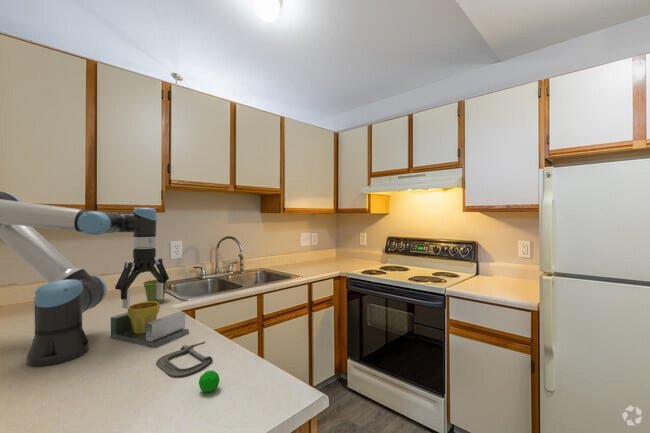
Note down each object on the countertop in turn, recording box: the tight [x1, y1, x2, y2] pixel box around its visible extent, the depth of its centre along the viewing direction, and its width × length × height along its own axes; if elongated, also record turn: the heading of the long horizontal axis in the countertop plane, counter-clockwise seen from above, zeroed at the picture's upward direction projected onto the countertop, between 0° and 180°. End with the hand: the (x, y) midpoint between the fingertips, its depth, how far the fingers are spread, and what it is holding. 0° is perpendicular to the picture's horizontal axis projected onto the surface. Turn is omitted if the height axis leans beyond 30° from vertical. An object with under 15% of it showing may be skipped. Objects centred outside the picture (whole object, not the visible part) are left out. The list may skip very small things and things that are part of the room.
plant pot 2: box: [127, 301, 161, 334], centre depth 115 cm, size 10×10×10 cm
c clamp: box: [155, 341, 213, 378], centre depth 95 cm, size 20×17×3 cm
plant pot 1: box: [142, 279, 169, 304], centre depth 159 cm, size 12×12×11 cm
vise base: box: [110, 311, 190, 349], centre depth 115 cm, size 14×24×8 cm, turn 67°
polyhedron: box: [198, 369, 221, 393], centre depth 78 cm, size 5×5×5 cm
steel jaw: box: [146, 311, 186, 341], centre depth 111 cm, size 14×3×6 cm, turn 157°
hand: (143, 303), depth 116 cm, fingers open, 13 cm apart
